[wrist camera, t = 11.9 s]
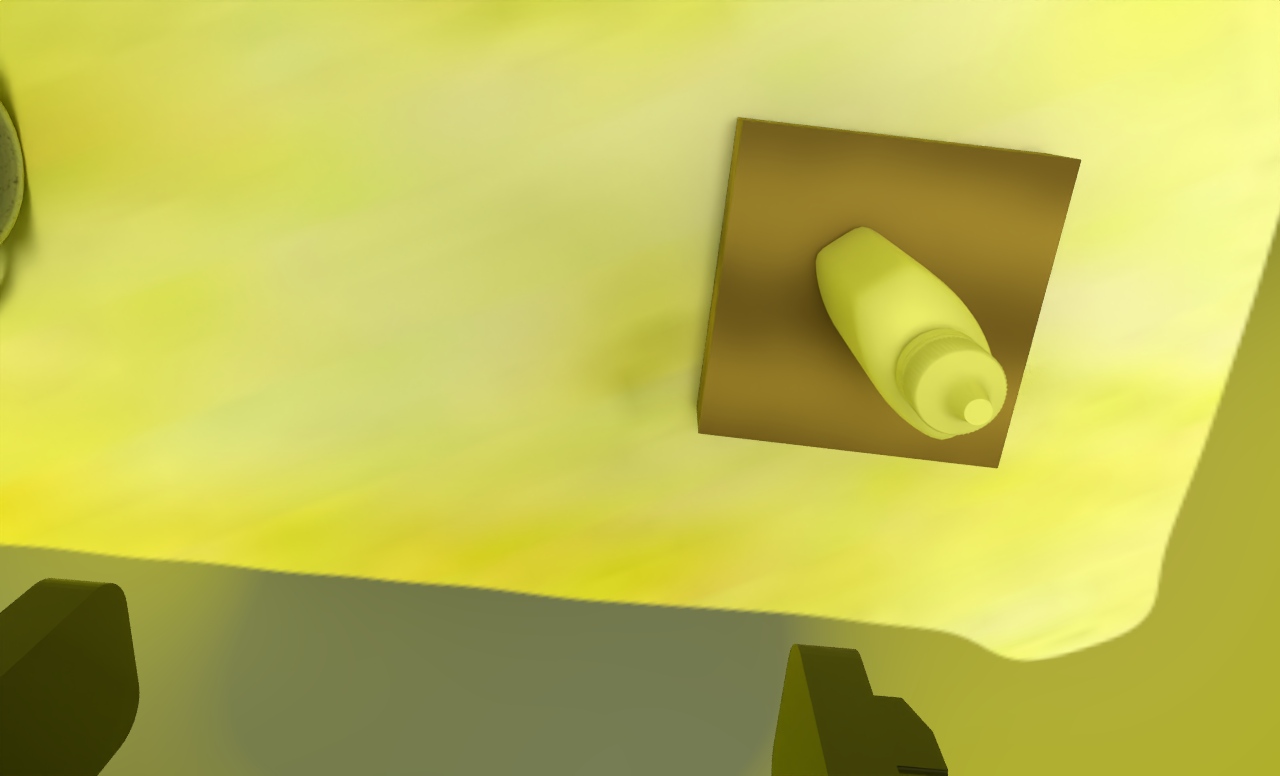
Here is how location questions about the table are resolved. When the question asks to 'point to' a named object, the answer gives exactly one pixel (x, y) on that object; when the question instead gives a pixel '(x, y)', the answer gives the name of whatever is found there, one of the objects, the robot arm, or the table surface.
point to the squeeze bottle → (910, 335)
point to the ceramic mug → (9, 174)
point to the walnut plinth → (911, 220)
